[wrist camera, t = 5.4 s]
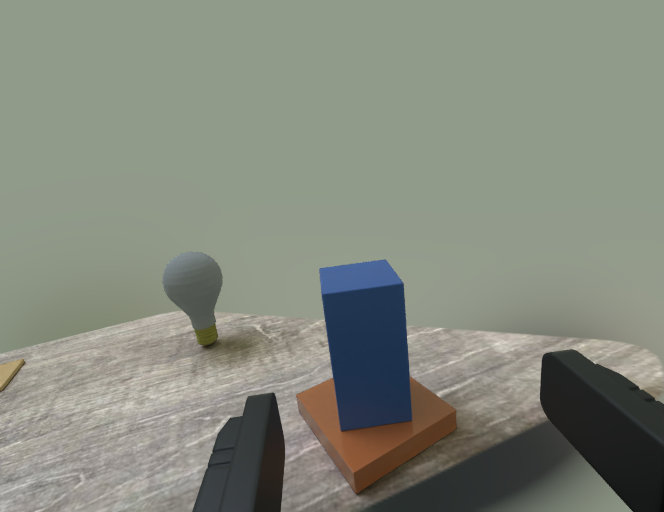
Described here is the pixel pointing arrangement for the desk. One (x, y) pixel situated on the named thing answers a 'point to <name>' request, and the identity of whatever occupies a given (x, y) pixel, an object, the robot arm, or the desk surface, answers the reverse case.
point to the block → (367, 343)
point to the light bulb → (195, 291)
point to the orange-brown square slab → (375, 433)
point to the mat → (9, 372)
